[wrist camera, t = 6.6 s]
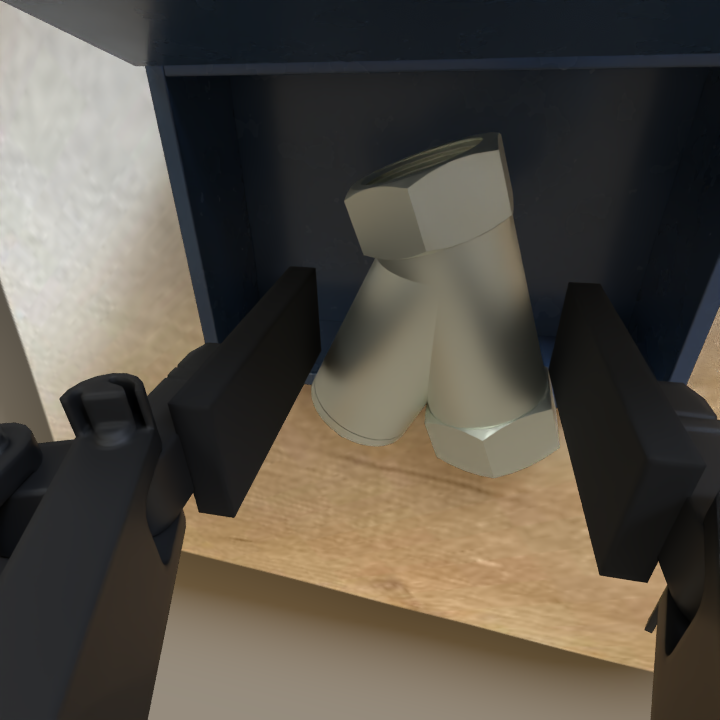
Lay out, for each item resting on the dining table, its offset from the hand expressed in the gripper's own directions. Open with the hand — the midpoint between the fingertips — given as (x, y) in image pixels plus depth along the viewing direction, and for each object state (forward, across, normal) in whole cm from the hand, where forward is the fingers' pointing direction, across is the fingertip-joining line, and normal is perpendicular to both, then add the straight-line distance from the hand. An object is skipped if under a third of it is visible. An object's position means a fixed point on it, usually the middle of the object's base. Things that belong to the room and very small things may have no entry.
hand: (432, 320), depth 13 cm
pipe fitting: (+1, -1, 0) cm, 2 cm away
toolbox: (+12, 0, 0) cm, 12 cm away
